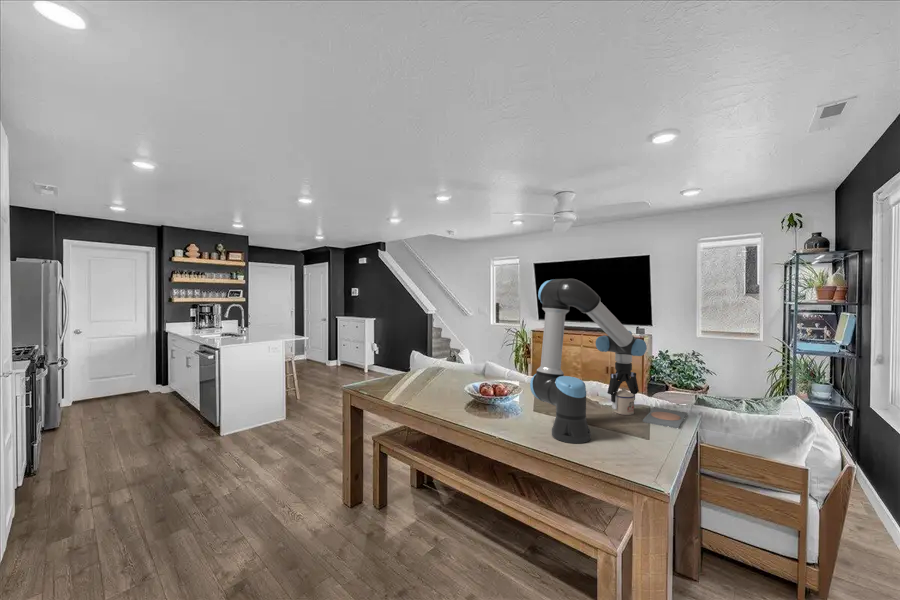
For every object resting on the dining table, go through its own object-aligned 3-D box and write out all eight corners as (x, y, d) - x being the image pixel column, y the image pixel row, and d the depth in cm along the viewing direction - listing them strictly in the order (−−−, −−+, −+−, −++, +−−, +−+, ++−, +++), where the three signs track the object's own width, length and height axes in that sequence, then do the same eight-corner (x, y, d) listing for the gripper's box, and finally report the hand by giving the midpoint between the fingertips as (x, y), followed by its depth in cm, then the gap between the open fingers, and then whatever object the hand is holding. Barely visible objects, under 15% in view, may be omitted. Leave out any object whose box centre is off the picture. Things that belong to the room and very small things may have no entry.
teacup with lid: (631, 416, 178) (631, 392, 178) (611, 412, 184) (611, 389, 184) (638, 410, 188) (638, 387, 187) (618, 407, 193) (618, 384, 193)
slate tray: (678, 428, 162) (678, 426, 162) (642, 421, 171) (642, 419, 171) (687, 414, 181) (687, 412, 181) (654, 409, 190) (654, 406, 190)
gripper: (635, 359, 192) (635, 403, 193) (599, 362, 185) (599, 407, 186) (647, 362, 185) (647, 407, 186) (610, 364, 178) (610, 412, 179)
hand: (623, 407), depth 186 cm, fingers open, 10 cm apart
